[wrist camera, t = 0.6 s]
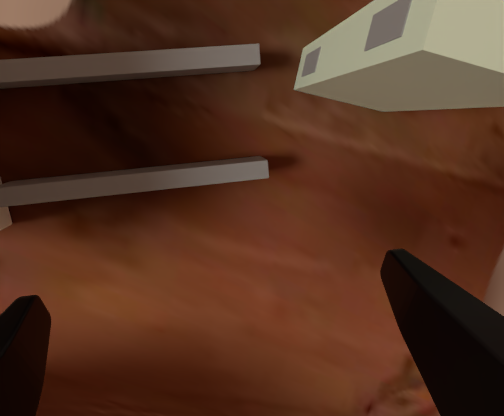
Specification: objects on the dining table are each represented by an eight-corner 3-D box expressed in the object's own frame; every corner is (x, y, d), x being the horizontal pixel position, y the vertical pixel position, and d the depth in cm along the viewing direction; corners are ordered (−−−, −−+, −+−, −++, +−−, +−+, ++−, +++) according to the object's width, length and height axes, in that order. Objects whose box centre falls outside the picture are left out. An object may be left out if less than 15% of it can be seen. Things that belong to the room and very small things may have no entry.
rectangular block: (383, 111, 23) (604, 101, 11) (293, 89, 22) (420, 49, 9) (393, 72, 23) (639, 13, 10) (302, 48, 21) (450, -53, 9)
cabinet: (263, 202, 23) (341, 299, 11) (-108, 246, 21) (-575, 440, 8) (248, 14, 21) (330, -151, 8) (-181, 37, 18) (-1054, -155, 5)
